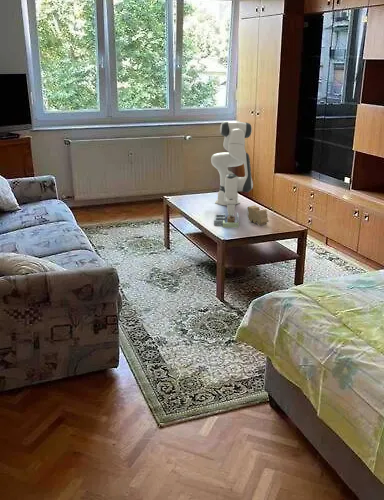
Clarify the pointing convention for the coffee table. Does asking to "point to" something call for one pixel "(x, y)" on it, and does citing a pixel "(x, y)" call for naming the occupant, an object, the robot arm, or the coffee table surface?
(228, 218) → the block
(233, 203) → the robot arm
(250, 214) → the toy train
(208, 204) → the coffee table surface
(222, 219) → the trap lane
